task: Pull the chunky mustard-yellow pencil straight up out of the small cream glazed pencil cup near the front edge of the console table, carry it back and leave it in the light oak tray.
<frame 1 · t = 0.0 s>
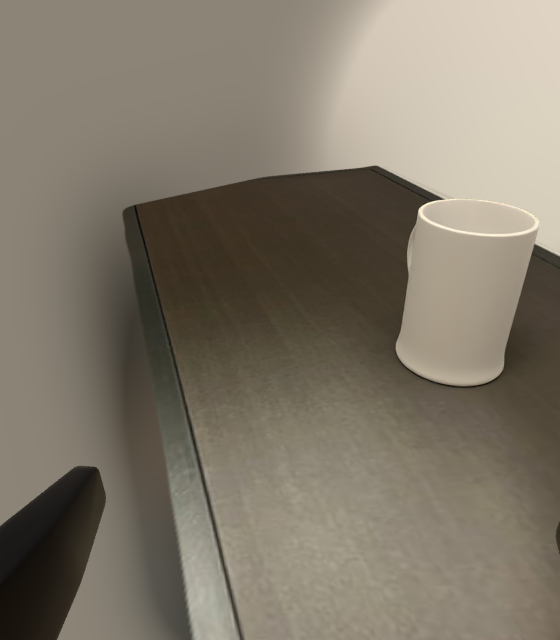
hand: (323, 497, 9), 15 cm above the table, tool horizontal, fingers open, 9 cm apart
mug: (437, 346, 42), on the table
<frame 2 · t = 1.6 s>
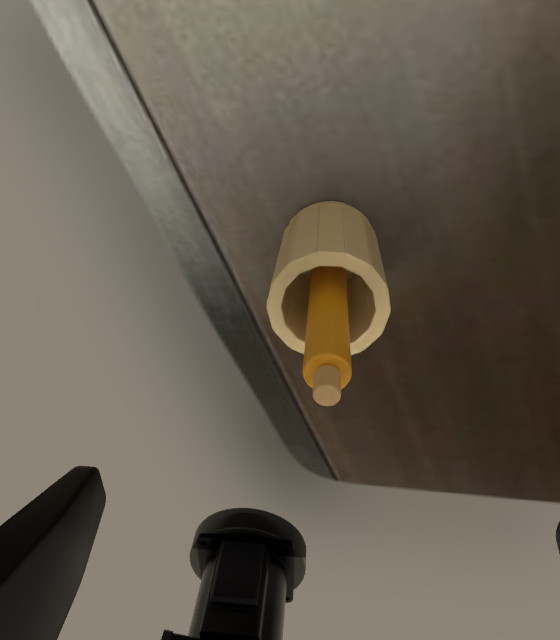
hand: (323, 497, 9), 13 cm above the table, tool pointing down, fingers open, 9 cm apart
pencil: (328, 251, 20), resting on pencil cup
pencil cup: (328, 247, 21), on the table
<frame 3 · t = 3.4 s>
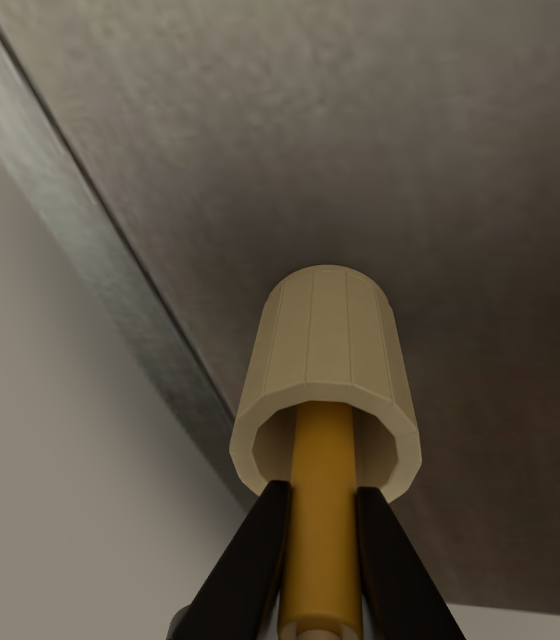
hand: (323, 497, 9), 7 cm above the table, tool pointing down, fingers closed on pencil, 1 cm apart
pencil: (326, 332, 15), point 1 cm above the table, touching gripper, pencil cup
pencil cup: (326, 323, 15), on the table
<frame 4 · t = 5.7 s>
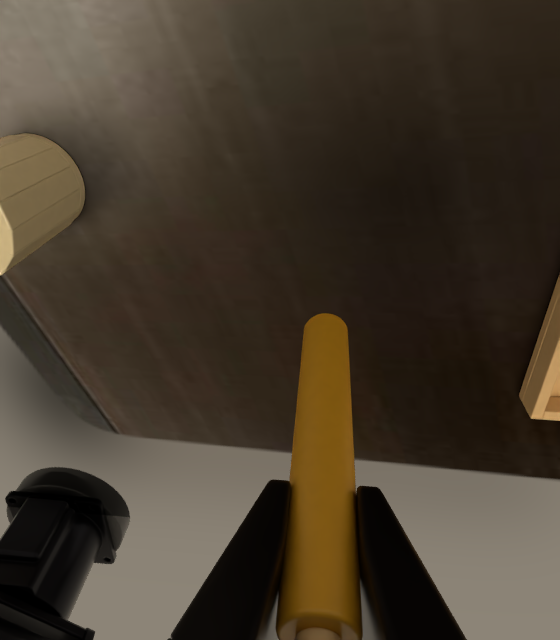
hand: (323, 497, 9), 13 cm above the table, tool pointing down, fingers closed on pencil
pencil: (325, 330, 15), point 7 cm above the table, touching gripper
pencil cup: (38, 183, 21), on the table
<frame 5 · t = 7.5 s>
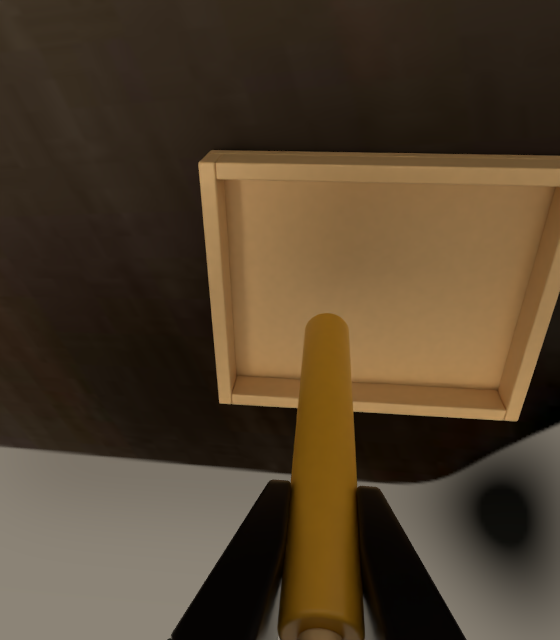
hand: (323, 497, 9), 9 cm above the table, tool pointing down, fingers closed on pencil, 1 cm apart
pencil: (326, 330, 15), point 3 cm above the table, touching gripper
tray: (372, 283, 17), on the table
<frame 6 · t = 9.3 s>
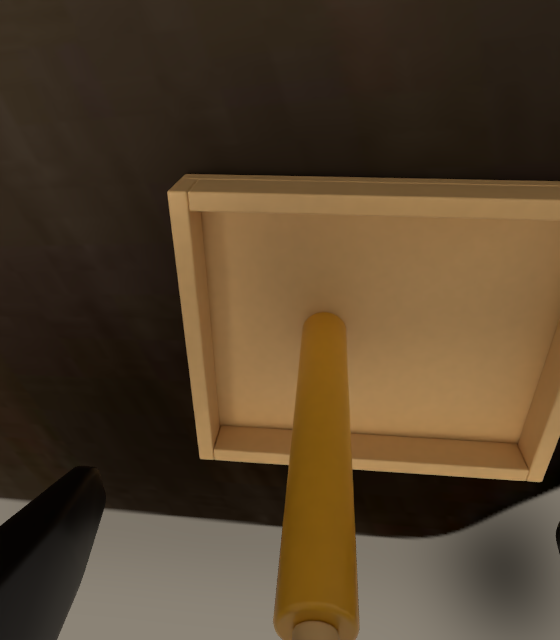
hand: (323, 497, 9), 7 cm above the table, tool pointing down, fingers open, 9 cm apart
pencil: (324, 329, 15), resting on tray
tray: (375, 325, 15), on the table
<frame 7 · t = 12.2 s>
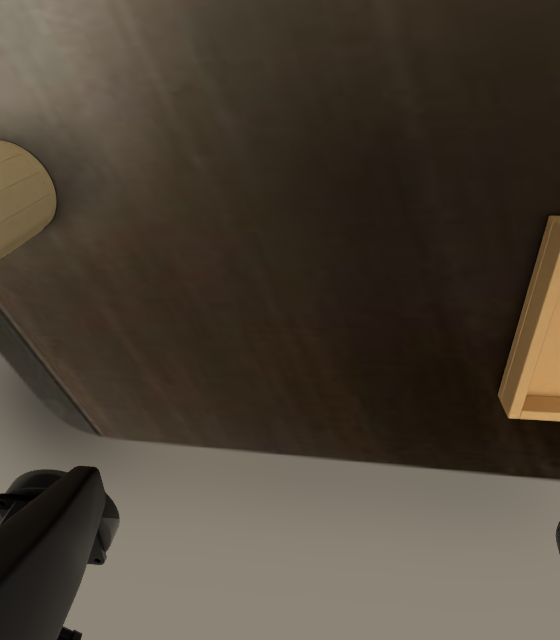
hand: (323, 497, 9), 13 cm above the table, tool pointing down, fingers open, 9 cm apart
pencil cup: (10, 189, 21), on the table
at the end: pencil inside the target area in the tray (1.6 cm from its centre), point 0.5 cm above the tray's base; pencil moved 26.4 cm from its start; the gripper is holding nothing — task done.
